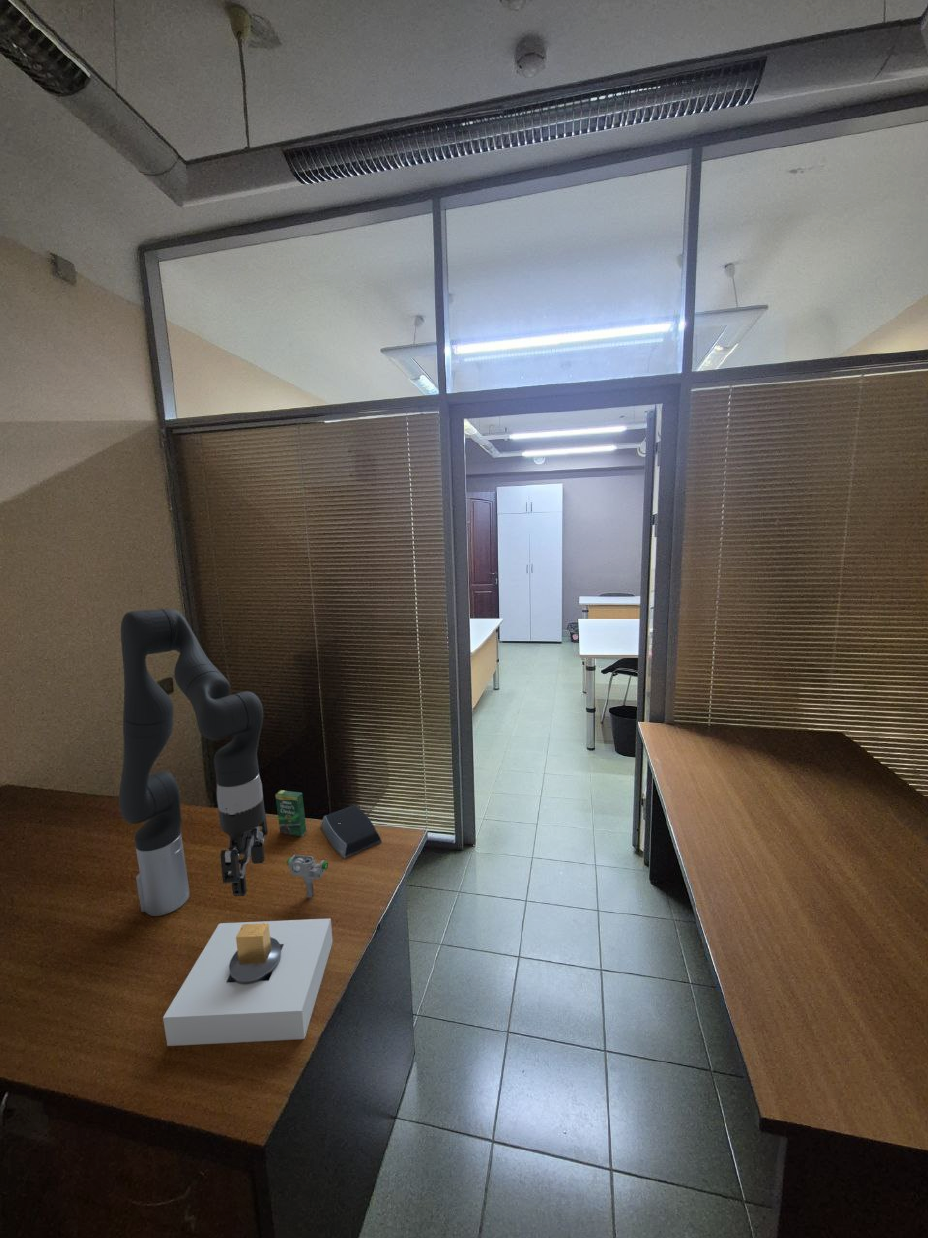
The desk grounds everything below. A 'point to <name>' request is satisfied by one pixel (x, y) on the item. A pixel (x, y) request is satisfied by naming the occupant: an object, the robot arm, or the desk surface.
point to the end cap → (254, 954)
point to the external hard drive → (350, 831)
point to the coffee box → (291, 813)
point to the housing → (251, 989)
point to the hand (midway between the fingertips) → (249, 878)
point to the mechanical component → (307, 870)
